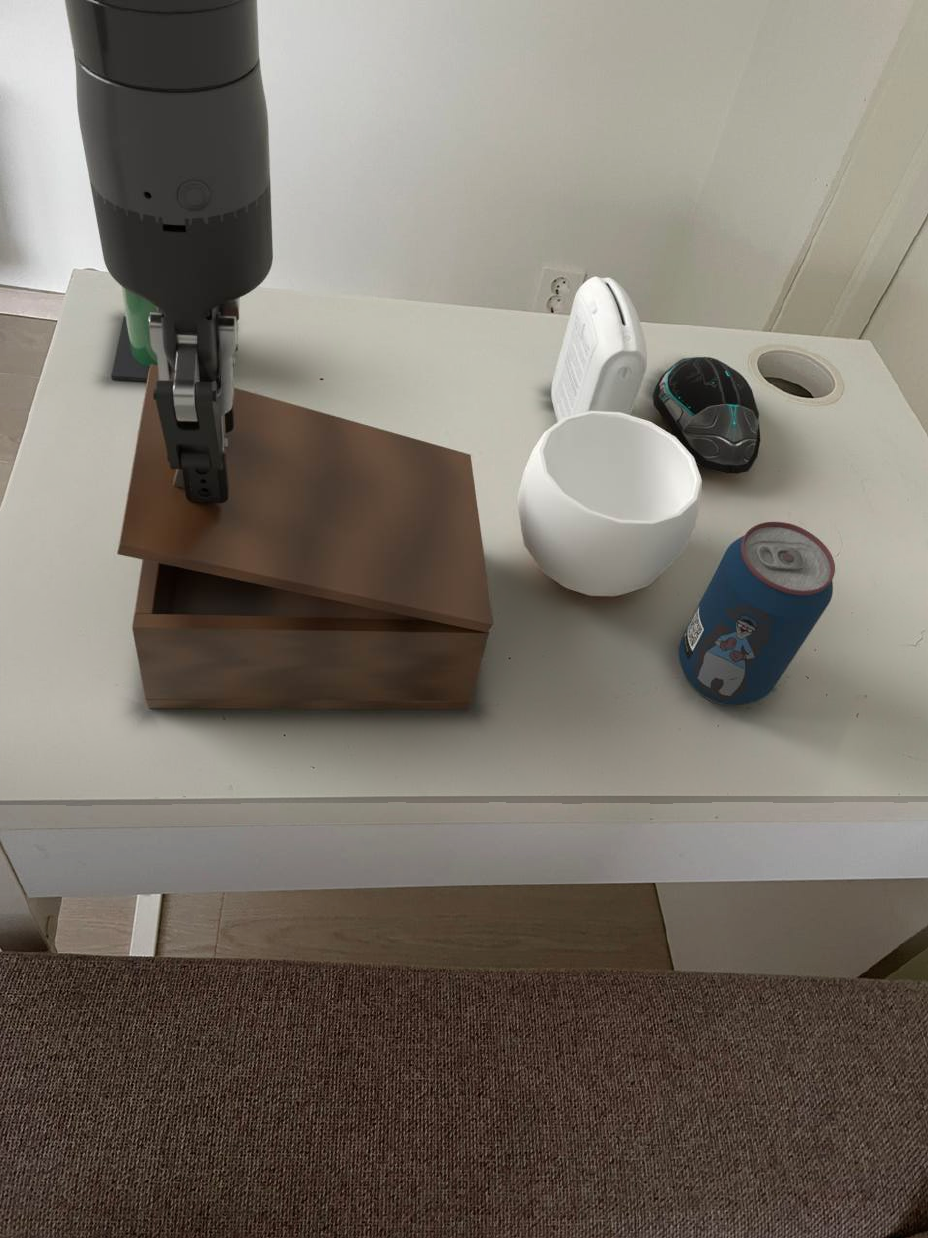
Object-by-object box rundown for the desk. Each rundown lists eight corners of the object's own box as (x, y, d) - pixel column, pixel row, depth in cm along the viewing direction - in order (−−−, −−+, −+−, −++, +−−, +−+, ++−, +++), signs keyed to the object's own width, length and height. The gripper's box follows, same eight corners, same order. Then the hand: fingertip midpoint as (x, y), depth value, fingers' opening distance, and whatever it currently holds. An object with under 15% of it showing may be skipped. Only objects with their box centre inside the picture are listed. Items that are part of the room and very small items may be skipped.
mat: (111, 379, 79) (111, 375, 79) (124, 319, 84) (123, 315, 84) (215, 385, 81) (214, 381, 80) (221, 326, 86) (221, 322, 85)
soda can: (759, 637, 72) (830, 519, 63) (779, 718, 67) (858, 604, 58) (666, 628, 71) (724, 508, 62) (680, 710, 67) (744, 593, 57)
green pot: (123, 370, 80) (108, 269, 73) (132, 322, 84) (119, 222, 77) (205, 375, 81) (198, 276, 74) (211, 327, 85) (205, 229, 78)
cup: (547, 480, 79) (575, 381, 72) (690, 547, 77) (734, 452, 69) (475, 576, 72) (497, 477, 64) (631, 654, 69) (673, 560, 62)
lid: (116, 554, 50) (135, 486, 47) (148, 373, 59) (165, 305, 56) (487, 633, 58) (527, 579, 55) (465, 462, 67) (498, 407, 64)
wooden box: (147, 708, 61) (131, 627, 55) (169, 535, 70) (158, 449, 64) (469, 710, 64) (489, 633, 58) (451, 544, 73) (467, 463, 67)
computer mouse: (730, 370, 92) (752, 316, 88) (770, 498, 82) (798, 444, 77) (639, 360, 91) (657, 306, 87) (668, 489, 80) (690, 434, 76)
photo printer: (618, 471, 81) (663, 343, 72) (568, 471, 80) (606, 341, 71) (591, 390, 87) (629, 262, 78) (544, 388, 86) (576, 260, 77)
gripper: (109, 81, 46) (154, 379, 59) (61, 253, 37) (126, 558, 51) (274, 94, 47) (282, 383, 61) (264, 263, 39) (277, 559, 52)
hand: (211, 461), depth 56 cm, fingers closed on lid, 5 cm apart
